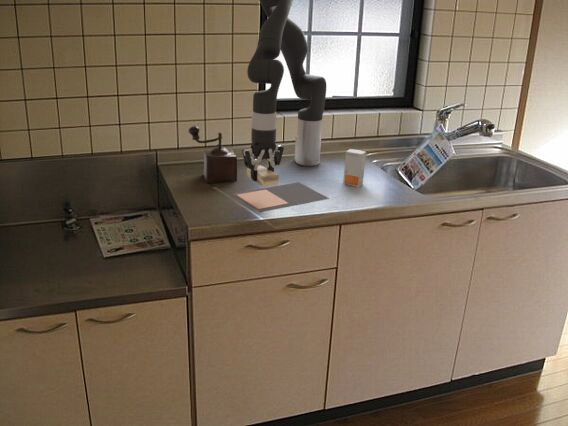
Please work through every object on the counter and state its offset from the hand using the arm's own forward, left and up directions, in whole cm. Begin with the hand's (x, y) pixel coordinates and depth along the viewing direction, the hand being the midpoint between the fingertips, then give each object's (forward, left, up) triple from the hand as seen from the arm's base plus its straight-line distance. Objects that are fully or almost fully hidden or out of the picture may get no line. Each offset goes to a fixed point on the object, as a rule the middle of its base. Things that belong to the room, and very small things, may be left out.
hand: (262, 179), depth 189 cm
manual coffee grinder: (-27, -4, -8) cm, 28 cm away
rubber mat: (0, +7, -7) cm, 10 cm away
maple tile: (0, 0, 0) cm, 0 cm away
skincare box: (0, +37, -8) cm, 38 cm away
